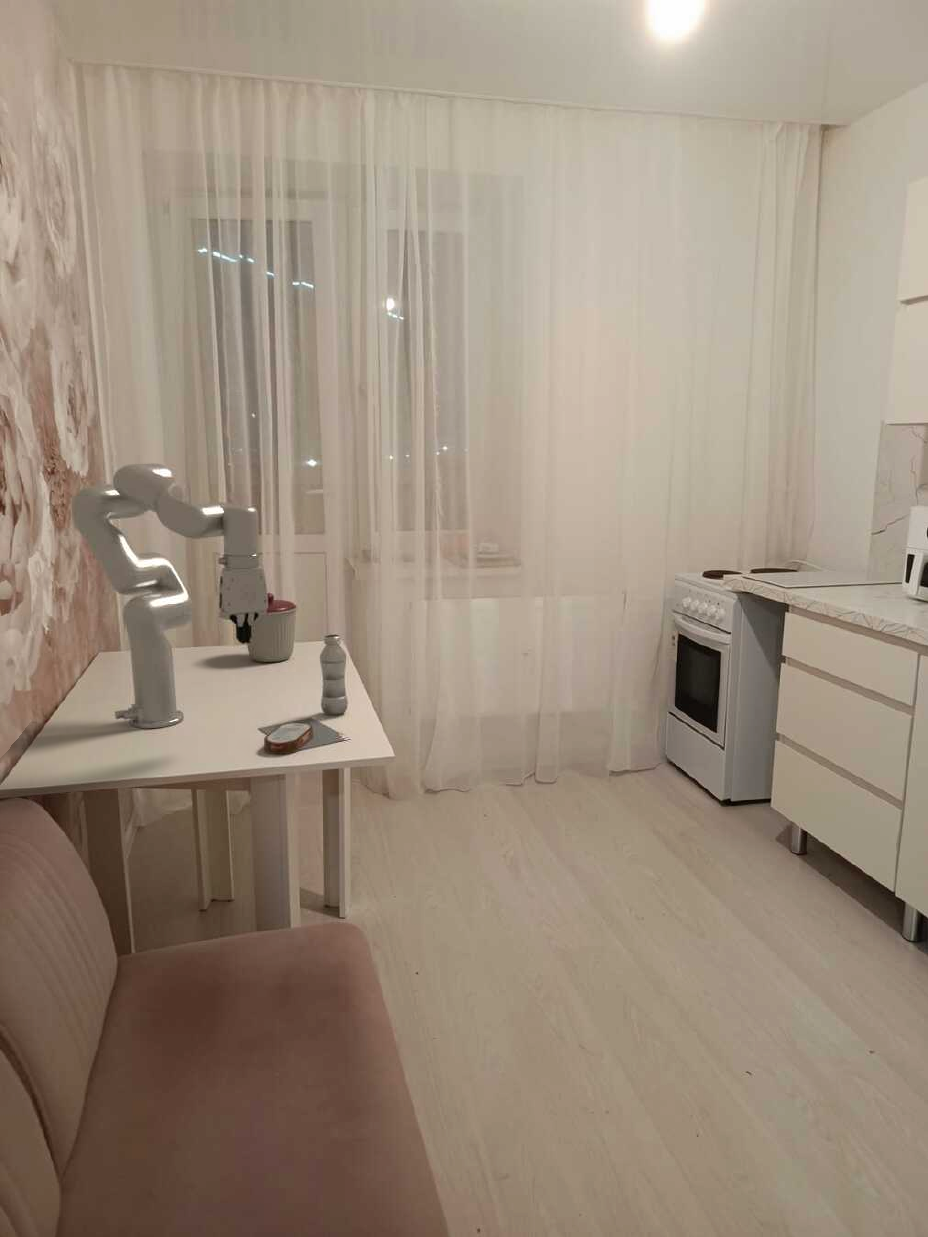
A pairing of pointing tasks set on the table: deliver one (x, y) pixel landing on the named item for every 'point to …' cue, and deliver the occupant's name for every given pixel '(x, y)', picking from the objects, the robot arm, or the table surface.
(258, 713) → the table surface
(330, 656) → the plastic bottle
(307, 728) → the tin
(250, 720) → the table surface
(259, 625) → the canister
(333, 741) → the mat
